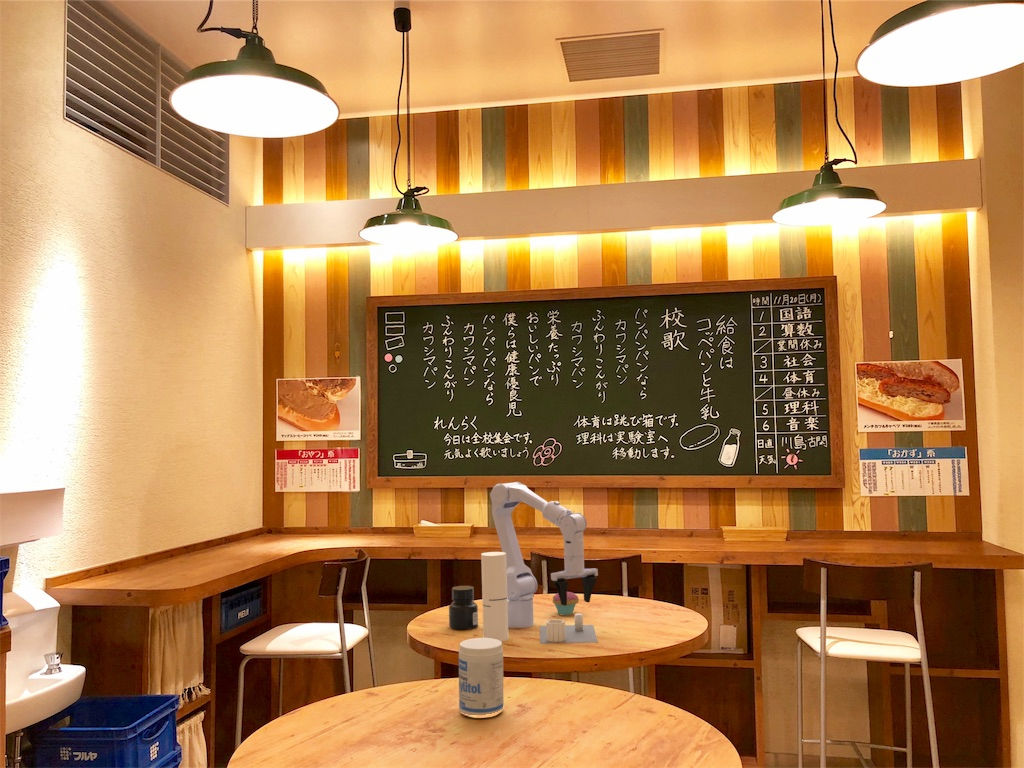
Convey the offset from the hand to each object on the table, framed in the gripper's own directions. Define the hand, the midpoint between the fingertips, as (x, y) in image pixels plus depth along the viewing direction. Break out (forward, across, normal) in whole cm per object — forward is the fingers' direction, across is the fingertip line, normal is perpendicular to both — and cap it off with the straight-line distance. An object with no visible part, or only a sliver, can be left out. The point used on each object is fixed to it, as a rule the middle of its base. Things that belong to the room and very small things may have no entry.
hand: (575, 603), depth 233 cm
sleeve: (+9, -8, -3) cm, 12 cm away
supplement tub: (+10, -48, -44) cm, 66 cm away
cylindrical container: (+10, -22, +7) cm, 25 cm away
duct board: (+10, -2, +1) cm, 10 cm away
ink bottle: (+10, -24, +29) cm, 38 cm away
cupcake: (+10, +12, +28) cm, 32 cm away
